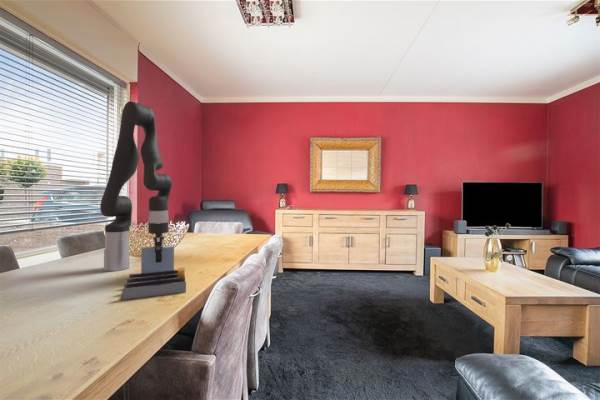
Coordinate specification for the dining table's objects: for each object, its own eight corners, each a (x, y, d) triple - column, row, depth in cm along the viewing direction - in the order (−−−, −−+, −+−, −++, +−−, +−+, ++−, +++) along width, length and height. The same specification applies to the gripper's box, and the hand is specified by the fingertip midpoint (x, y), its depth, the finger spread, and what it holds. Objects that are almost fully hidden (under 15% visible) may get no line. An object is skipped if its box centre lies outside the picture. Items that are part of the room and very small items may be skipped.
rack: (122, 300, 88) (122, 282, 88) (129, 283, 104) (129, 267, 104) (185, 292, 96) (186, 275, 96) (183, 277, 113) (183, 263, 113)
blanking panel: (141, 278, 111) (141, 249, 110) (141, 276, 113) (142, 247, 113) (173, 275, 116) (173, 246, 116) (173, 273, 119) (173, 245, 118)
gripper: (149, 220, 119) (149, 257, 119) (147, 223, 106) (147, 264, 106) (168, 219, 122) (168, 255, 123) (168, 222, 109) (169, 262, 110)
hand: (159, 259), depth 115 cm, fingers open, 8 cm apart
